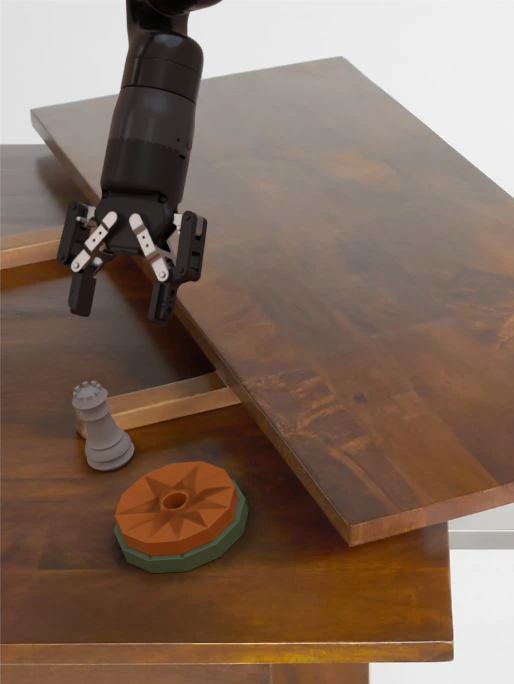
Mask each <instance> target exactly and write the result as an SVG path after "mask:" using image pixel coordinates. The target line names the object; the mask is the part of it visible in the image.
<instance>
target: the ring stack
mask: <svg viewBox="0 0 514 684" xmlns="http://www.w3.org/2000/svg"><path fill="white" fill-rule="evenodd" d="M249 512H250V509H249V505H248V501H247V499H246V497H245V496H244V494H243V492H242V491H241V489H240V487H239V486H238V484H237V483H236V480H235V479H234V478H231V477H230V476H229V474H228V472H227V471H226V469H225V468H221V467H219V466H217V465H215V464H211V463H209V462H206V461H202V460H198V461H197V460H196V461H185V462H183V461H182V462H172V463H169V464H167V465H164V466H162V467H160V468H157V469H154V470H153V471H150V472H147V473H145V474H143V475H141V477H140V478H138V479H137V480H136V481H135V482H134V483H133V484H132V485H131V486H129V487H128V488H127V489H126V490H125V491H123V493H121V496H120V499H119V502H118V503H117V508H116V510H115V513H114V518H115V521H116V522H115V524H114V528H112V529H113V530H112V531H113V533H114V536H115V538H116V541H117V543H118V545H119V547H120V550H121V551H122V553H123V556H124V558H125V562H127V563H128V564H130V565H133V566H135V567H137V568H139V569H142V570H144V571H147V572H149V573H151V574H163V573H164V574H165V573H166V574H167V573H182V572H190V571H192V570H194V569H196V568H199V567H200V566H203V565H205V564H207V563H210V562H213V561H214V560H218V559H220V558H221V557H222V556H223V555H224V554H225V553H226V552H227V551H228V550H229V549H230V548H231V547H232V546H233V545H234V544H235V543H236V542H237V541H238V540H239V539H240V538H241V537H242V536H244V531H245V528H246V523H247V519H248V515H249Z"/></svg>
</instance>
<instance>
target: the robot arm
mask: <svg viewBox="0 0 514 684" xmlns="http://www.w3.org/2000/svg"><path fill="white" fill-rule="evenodd" d="M222 1H223V0H125V16H126V20H125V21H126V33H127V34H126V35H127V43H128V47H127V52H126V56H125V62H124V67H123V71H122V77H121V82H120V88H119V92H118V97H117V100H116V103H115V105H114V109H113V112H112V117H111V121H110V127H109V132H108V137H107V142H106V148H105V153H104V160H103V165H102V170H101V176H100V180H99V185H100V190H101V198H100V200H99V202H98V204H96V206H93V205H87V204H85V203H82V202H81V201H78V200H72V201H70V202H69V204H68V207H67V212H66V216H65V220H64V224H63V228H62V233H61V235H60V239H59V240H60V241H59V246H58V249H57V252H56V261H57V263H58V264H62V265H63V266H65V267H67V268H68V269H70V270H71V273H72V275H71V276H72V277H71V282H70V289H69V293H68V299H67V305H68V308H69V312H70V313H71V314H72V315H75V316H77V317H83V318H89V317H90V316H91V313H92V308H93V302H94V297H95V291H96V286H97V281H98V280H97V278H96V277H95V276H97V275H98V273H99V272H100V271H101V270H102V269H103V267H105V265H106V264H107V263H110V262H113V260H114V259H115V258H116V257H118V255H119V256H122V257H132V256H133V257H134V256H137V257H140V258H142V259H146V260H147V261H148V262H149V264H150V265H151V267H152V270H153V272H154V274H155V276H156V278H157V280H158V281H157V282H155V281H154V282H153V286H152V291H151V297H150V303H149V308H148V314H147V323H148V324H149V325H151V326H154V327H157V328H158V327H159V328H166V327H167V326H168V324H169V323H168V322H171V320H172V318H173V317H174V311H175V307H176V300H177V296H178V295H177V294H178V290H179V289H180V286H181V285H183V284H186V283H189V282H192V283H197V282H199V281H200V280H201V278H202V270H203V263H204V254H205V246H206V240H207V239H206V238H207V232H208V231H207V230H208V219H207V218H206V217H204V216H203V215H201V214H199V213H196V212H193V211H192V210H186V211H184V212H183V213H179V205H180V204H181V203H182V200H183V199H184V194H185V193H184V192H185V189H186V188H185V187H186V182H187V175H188V171H189V165H190V159H191V153H192V149H193V143H194V137H195V131H196V111H197V105H198V98H199V93H200V87H201V82H202V77H203V72H204V63H205V57H204V51H203V48H202V47H201V45H200V44H199V43H198V42H197V40H195V39H194V38H192V37H191V36H189V28H188V27H189V17H190V14H191V12H195V11H200V10H204V9H208V8H210V7H214V6H216V5H217V4H220V3H221V2H222ZM96 225H97V228H96V229H95V230H94V231H93V232H92V234H91V230H92V228H95V227H96ZM176 231H177V232H176ZM175 232H176V233H177V234H178V243H177V250H176V251H177V252H176V254H175V252H174V250H173V247H172V245H171V242H170V240H169V239H170V238H171V237H172V236H173V234H174V233H175ZM90 234H91V235H90ZM103 244H104V245H103Z"/></svg>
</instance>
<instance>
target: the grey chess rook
mask: <svg viewBox="0 0 514 684" xmlns="http://www.w3.org/2000/svg"><path fill="white" fill-rule="evenodd" d="M90 383H91V384H89V382H88V381H83V382H81V384H82V385H81V386H82V387H80V385H76V386H75V387H74V388H73V390H74V391H72V395H73V398H72V399H71V404H72V407H74V408H75V409H77V410H79V418H80V420H82V421H83V422H84V425H85V430H86V440H85V446H84V455H85V457H86V461H87V465H89V467H91V468H92V469H94V470H97V471H100V472H112V471H115V470H118V469H120V468H122V467H124V466H126V465H127V463H129V461H131V459H132V457H133V455H134V452H135V445H134V443H133V442H132V439H131V436H130V435H129V434H128V433H127V432H126V431H125V430H123V428H121V427H120V426H118V425H117V423H116V422H115V419H114V418H113V415H111V412H110V410H111V405H110V403H108V402H107V401H106V400H107V398H108V395H109V393H108V390H107V389H106V388H104V387H103V386H102V385H101V383H98V381H97V380H91V382H90Z"/></svg>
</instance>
